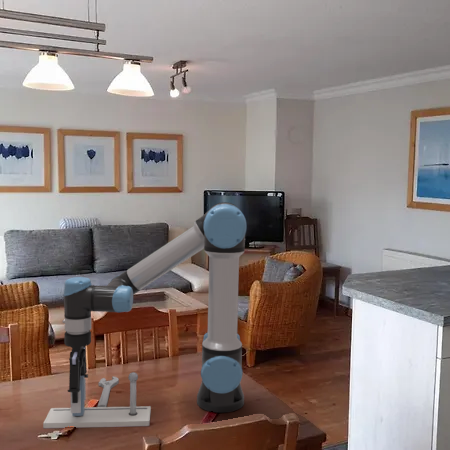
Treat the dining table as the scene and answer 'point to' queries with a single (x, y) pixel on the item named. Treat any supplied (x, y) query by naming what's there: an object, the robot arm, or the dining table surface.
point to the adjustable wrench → (106, 390)
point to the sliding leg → (81, 398)
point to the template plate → (102, 414)
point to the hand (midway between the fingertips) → (78, 405)
